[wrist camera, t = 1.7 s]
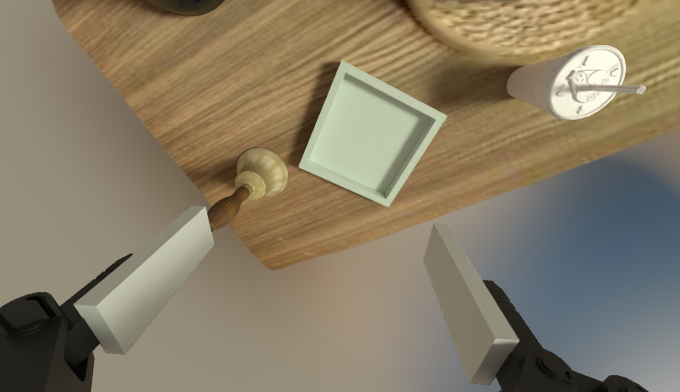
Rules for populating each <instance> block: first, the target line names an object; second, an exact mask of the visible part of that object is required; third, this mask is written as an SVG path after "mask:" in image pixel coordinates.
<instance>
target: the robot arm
mask: <svg viewBox="0 0 680 392" xmlns="http://www.w3.org/2000/svg"><path fill="white" fill-rule="evenodd" d="M145 1H147V2H149V3H150V4H152V5H154V6H156V7H159V8H161V9H164V10H167V11H170V12H172V13H176V14H179V15H185V16H197V15H202V14H205V13H208V12H210V11H212V10H214V9H215V8H217V7H218V6H219V5H220V4H221V3H222V2H223V1H224V0H145ZM213 245H214V242H213V237H212V233H211V229H210V224H209V220H208V216H207V211H206V207H203V206H191V207H190V208H189V209H188V210H187V211H185V212H184V213H183V214H182V215H180V216H179V217H178V218H177V219H176V220H174V221H173V222H172V223H171V224H170V225H168V226H167V227H166V228H165V229H163V230H162V231H161V232H160V233H159V234H157V235H156V236H155V237H154V238H153V239H152V240H150V241H149V242H148V243H147V244H145V245H144V246H143V247H142V248H141V249H140V250H138V251H137V252H136V253H135V254H129V255H127V256H125V257H123V258H121V259H119V260H117V261H116V262H115V263H114V264H112V265H111V266H110V267H108V268H107V269H106V271H105V272H102V273H101V274H100V275H98V276H97V277H96V279H93V280H92V281H91V282H90V283H88V284H87V285H86V286H85V287H84V288H82V289H81V290H80V291H78V292H77V293H76V294H75V295H73V296H72V297H71V298H70V299H69V300H67V301H66V302H65V303H64V304H62V305H61V306H59V305H58V304H57V303H56V301H55V300H54V298H53V297H52V296H51V294H49V293H47V292H37V293H32V294H28V295H25V296H22V297H20V298H17V299H15V300H13V301H11V302H9V303H7V304H5V305H3V306H2V307H1V308H0V392H91V386H92V376H93V368H94V354H93V353H92V351H93V350H94V349H95V348H96V347H97V346H98V345H99V344H100V345H101V346H102V348H103V349H104V351H105V352H106V353H112V354H124V355H126V353H127V352H128V351H129V350H130V348H131V347H132V346H133V345H134V343H135V342H136V341H137V339H138V338H139V337H140V336H141V335H142V334H143V332H144V331H145V330H146V329H147V327H148V326H149V325H150V324H151V322H152V321H153V320H154V319H155V317H156V316H157V315H158V314H159V312H160V311H161V310H162V309H163V307H164V306H165V305H166V304H167V302H168V301H169V300H170V299H171V298H172V296H173V295H174V294H175V293H176V291H177V290H178V289H179V288H180V286H181V285H182V284H183V283H184V281H185V280H186V279H187V278H188V276H189V275H190V274H191V273H192V271H193V270H194V269H195V268H196V266H197V265H198V264H199V263H200V261H201V260H202V259H203V258H204V257H205V255H206V254H207V253H208V252H209V250H210V249H211V248H212V247H213ZM423 261H424V264H425V266H426V269H427V272H428V274H429V277H430V279H431V282H432V285H433V288H434V290H435V293H436V296H437V298H438V301H439V303H440V306H441V309H442V311H443V314H444V317H445V320H446V322H447V325H448V328H449V330H450V333H451V336H452V338H453V341H454V343H455V346H456V349H457V352H458V354H459V357H460V360H461V362H462V365H463V368H464V370H465V373H466V376H467V378H468V381H469V383H470V384H480V385H491V383H492V381H493V380H494V378H495V377H496V378H497V380H498V382H499V384H500V386H501V390H500V391H499V392H648V391H647V390H646V389H644V388H643V387H641V386H640V385H639V384H637V383H635V382H633V381H631V380H629V379H628V378H625V377H622V376H618V375H610V376H608V377H607V378H606V379H605V380H604V381H603V382H602V381H599V380H596V379H594V378H591V377H588V376H585V375H583V374H580V373H577V372H575V371H573V370H571V368H570V367H569V366H568V365H567V364H566V363H565V362H564V361H563V360H562V359H561V358H559V357H558V356H556V355H555V354H554V353H552V352H550V351H547V350H545V349H543V348H542V346H541V345H540V344H539V342H538V341H537V339H536V338H535V336H534V335H533V333H532V332H531V330H530V329H529V327H528V326H527V325H526V323H525V322H524V320H523V319H522V317H521V316H520V314H519V313H518V312H516V309H515V307H514V306H513V304H512V303H510V300H509V299H508V297H507V296H506V294H505V293H504V291H503V290H502V289H501V288H500V287H498V286H497V285H496V284H495V283H494V282H493V281H488V280H482V279H481V278H480V276H479V275H478V273H477V271H476V270H475V268H474V267H473V265H472V263H471V262H470V260H469V258H468V257H467V255H466V254H465V252H464V250H463V249H462V247H461V246H460V244H459V242H458V241H457V239H456V238H455V236H454V234H453V233H452V231H451V230H450V228H449V226H448V225H447V224H433V228H432V232H431V235H430V239H429V243H428V246H427V249H426V253H425V256H424V260H423Z"/></svg>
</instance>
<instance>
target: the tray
mask: <svg viewBox="0 0 680 392" xmlns="http://www.w3.org/2000/svg"><path fill="white" fill-rule="evenodd" d="M446 117H447V115H445V114H443V113H441V112H439V111H437V110H435V109H433V108H432V107H430V106H428V105H426V104H424V103H422V102H420V101H418V100H416V99H415V98H413V97H411V96H409V95H407V94H405V93H403V92H401V91H399V90H397V89H396V88H394V87H392V86H390V85H388V84H386V83H384V82H382V81H380V80H379V79H377V78H375V77H373V76H371V75H369V74H367V73H365V72H363V71H362V70H360V69H358V68H356V67H354V66H352V65H350V64H348V63H346V62H345V61H343V60H342V61H341V63H340V66H339V68H338V71H337V73H336V76H335V78H334V80H333V83H332V85H331V88H330V90H329V93H328V95H327V98H326V100H325V103H324V105H323V108H322V110H321V113H320V115H319V118H318V120H317V122H316V125H315V127H314V130H313V132H312V135H311V137H310V140H309V142H308V145H307V147H306V150H305V152H304V155H303V157H302V159H301V162H300V164H299V168H301V169H303V170H306V171H308V172H310V173H312V174H315V175H317V176H319V177H321V178H324V179H326V180H328V181H330V182H333V183H335V184H337V185H339V186H342V187H344V188H346V189H349V190H351V191H353V192H355V193H358V194H360V195H362V196H364V197H367V198H369V199H371V200H373V201H376V202H378V203H380V204H382V205H385V206H387V207H389V206H390V204H391V203H392V201H393V199H394V198H395V196H396V195H397V193H398V192H399V190H400V189H401V187H402V186H403V184H404V182H405V181H406V179H407V178H408V176H409V175H410V173H411V172H412V170H413V168H414V167H415V165H416V164H417V162H418V161H419V159H420V158H421V156H422V155H423V153H424V151H425V150H426V148H427V147H428V145H429V144H430V142H431V141H432V139H433V138H434V136H435V134H436V133H437V131H438V130H439V128H440V127H441V125H442V124H443V122H444V121H445V119H446Z"/></svg>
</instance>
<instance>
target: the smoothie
mask: <svg viewBox="0 0 680 392" xmlns="http://www.w3.org/2000/svg"><path fill="white" fill-rule="evenodd" d="M625 72H626V64H625V59H624V57H623V55H622V54H621V52H620V51H619V50H617V49H616V48H614V47H611V46H606V45H600V46H592V45H591V46H587V47H583V48H580V49H578V50H576V51H573V52H571V53H570V54H568V55H565V56H562V57H558V58H554V59H550V60H546V61H542V62H539V63H535V64H531V65H527V66H523V67H520V68H518V69H517V70H515V71H514V72H513V73H512V74H511V75H510V77H509V79H508V81H507V86H506V88H507V92H508V94H509V95H510V96H512V97H514V98H517V99H519V100H522V101H525V102H527V103H530V104H532V105H535V106H537V107H540V108H543V109H545V110H546V111H547V112H548V113H549V114H551V115H552V116H554V117H557V118H560V119H570V120H574V119H581V118H584V117H587V116H590V115H592V114H594V113H596V112H597V111H599V110H600V109H602V108H603V107H604V106H605V105H606V104H608V103H609V102H610V101H611V100H612V98H613V97H614V96H615V95H616V93H632V94H641V93H643V92H644V91H645V89H646V88H645V86H625V85H622V83H623V80H624V77H625Z"/></svg>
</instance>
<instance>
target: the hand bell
mask: <svg viewBox="0 0 680 392" xmlns="http://www.w3.org/2000/svg"><path fill="white" fill-rule="evenodd" d="M287 182H288V170H287V167H286V165H285V163H284V161H283V160H282V159H281V158H280V157H279V156H278V155H277V154H276V153H274V152H273V151H271V150H268V149H265V148H252V149H249V150H247V151H245V152H244V153H243V154H242V155H241V156H240V158H239V160H238V162H237V176H236V179H235V188H236V191H235V192H234V193H233V194H232V195H231V196H229V197H226V198H223V199H221V200H219V201H218V202H217V203H215V204H214V205H213V206H212V207H211V208H210V209H209V211H208V213H207V216H208V220H209V224H210V229H211V232H213V231H215V230H217V229H219V228H222V227H224V226H225V225H227V224H228V223H230V222H231V221H232V220H233V219H234V217H235V216H236V214H237V213H238V211H239V208H240V205H241V203H242V202H243V201H244V200H245V199H249V200H256V199H259V198H261V197H262V196H264V197H268V196H274V195H276V194H278V193H280V192H281V191H282V190H283V189H284V188H285V186H286V185H287Z"/></svg>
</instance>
